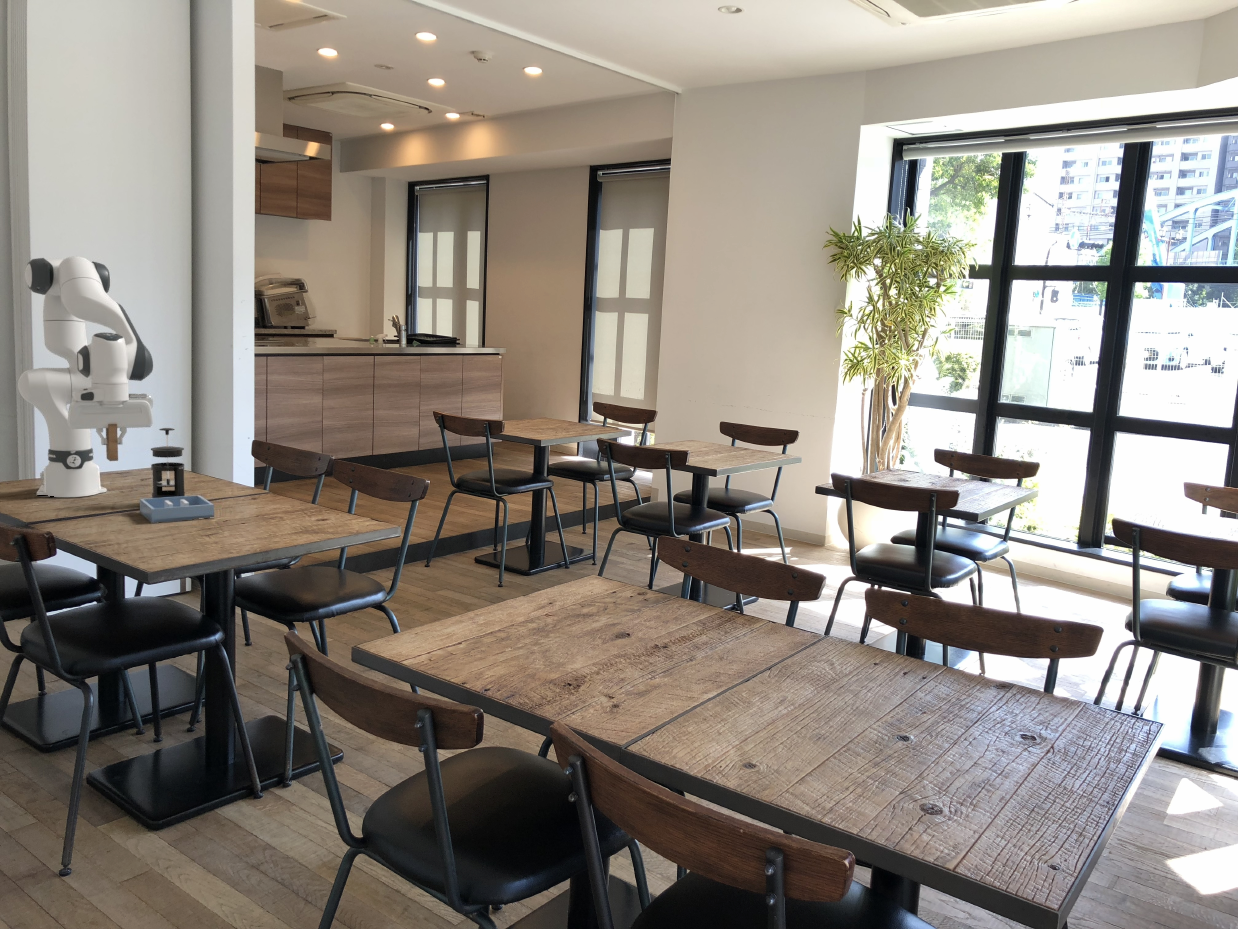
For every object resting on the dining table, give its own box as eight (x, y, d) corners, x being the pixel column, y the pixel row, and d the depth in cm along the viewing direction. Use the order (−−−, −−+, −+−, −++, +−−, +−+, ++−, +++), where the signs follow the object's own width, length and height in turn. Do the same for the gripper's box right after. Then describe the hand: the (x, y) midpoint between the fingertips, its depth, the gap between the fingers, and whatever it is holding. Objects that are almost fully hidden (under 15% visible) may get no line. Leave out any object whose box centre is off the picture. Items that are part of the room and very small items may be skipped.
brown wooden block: (106, 458, 253) (105, 422, 251) (114, 458, 254) (113, 422, 252) (109, 461, 249) (108, 424, 247) (118, 460, 250) (117, 424, 249)
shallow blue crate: (140, 512, 265) (139, 499, 264) (199, 508, 275) (199, 495, 274) (152, 523, 253) (152, 509, 252) (214, 518, 262) (213, 504, 262)
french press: (143, 503, 278) (141, 427, 274) (171, 499, 286) (170, 425, 282) (167, 508, 272) (165, 431, 269) (196, 504, 280) (194, 429, 277)
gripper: (150, 392, 258) (151, 441, 260) (65, 392, 245) (67, 444, 247) (155, 394, 253) (156, 444, 255) (68, 394, 240) (70, 447, 242)
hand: (111, 444), depth 251 cm, fingers closed on brown wooden block, 2 cm apart
